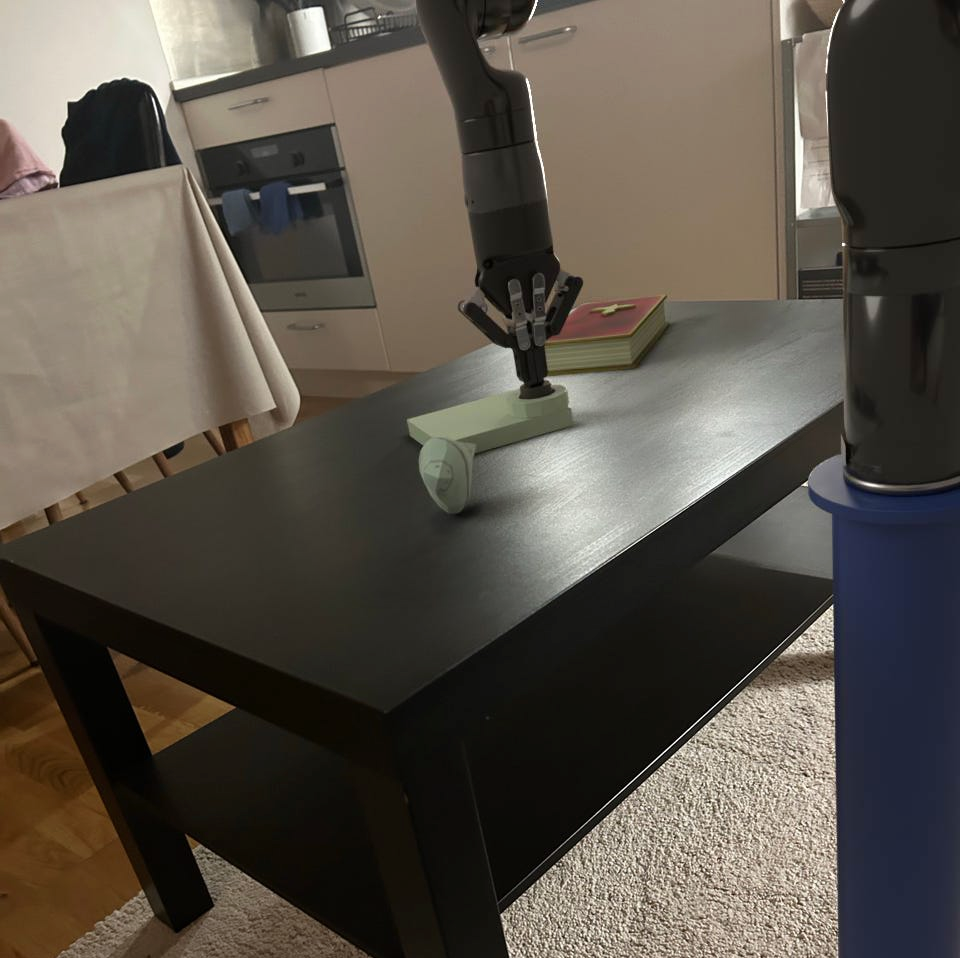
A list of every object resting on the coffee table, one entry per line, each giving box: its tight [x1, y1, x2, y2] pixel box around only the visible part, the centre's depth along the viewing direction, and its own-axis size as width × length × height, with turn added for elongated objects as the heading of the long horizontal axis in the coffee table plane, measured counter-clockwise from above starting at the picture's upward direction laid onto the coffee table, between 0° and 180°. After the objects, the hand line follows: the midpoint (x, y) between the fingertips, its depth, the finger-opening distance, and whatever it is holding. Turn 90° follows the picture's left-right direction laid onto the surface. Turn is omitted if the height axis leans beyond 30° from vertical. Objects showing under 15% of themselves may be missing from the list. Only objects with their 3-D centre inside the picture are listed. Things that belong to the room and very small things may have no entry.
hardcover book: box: [545, 293, 670, 377], centre depth 128 cm, size 12×21×4 cm, turn 160°
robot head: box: [418, 436, 476, 515], centre depth 85 cm, size 8×4×7 cm, turn 158°
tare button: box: [519, 379, 553, 399], centre depth 103 cm, size 3×3×2 cm
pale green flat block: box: [406, 384, 574, 455], centre depth 105 cm, size 14×12×4 cm
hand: (534, 384), depth 102 cm, fingers closed
